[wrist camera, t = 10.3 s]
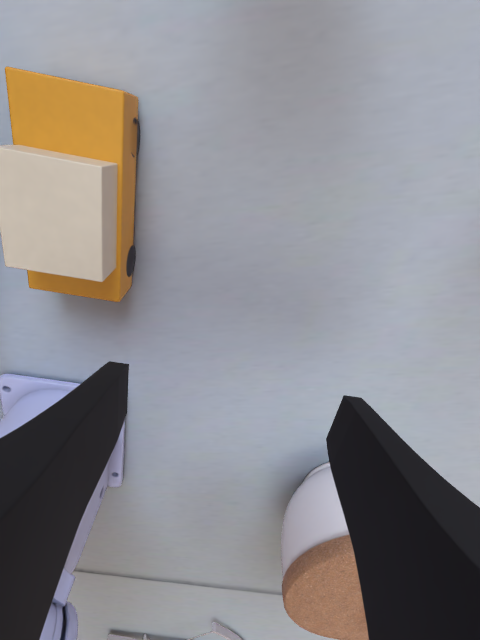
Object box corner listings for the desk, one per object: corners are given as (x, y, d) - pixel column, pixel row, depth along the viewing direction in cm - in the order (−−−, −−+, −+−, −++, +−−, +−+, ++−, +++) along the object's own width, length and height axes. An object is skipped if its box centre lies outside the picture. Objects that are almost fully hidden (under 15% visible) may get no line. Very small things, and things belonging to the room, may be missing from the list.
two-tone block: (134, 283, 20) (107, 320, 16) (54, 270, 19) (5, 304, 15) (141, 98, 16) (107, 83, 11) (40, 77, 15) (-32, 54, 11)
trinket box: (434, 452, 26) (526, 600, 18) (373, 535, 31) (423, 682, 22) (298, 425, 25) (328, 571, 16) (256, 516, 29) (263, 665, 21)
